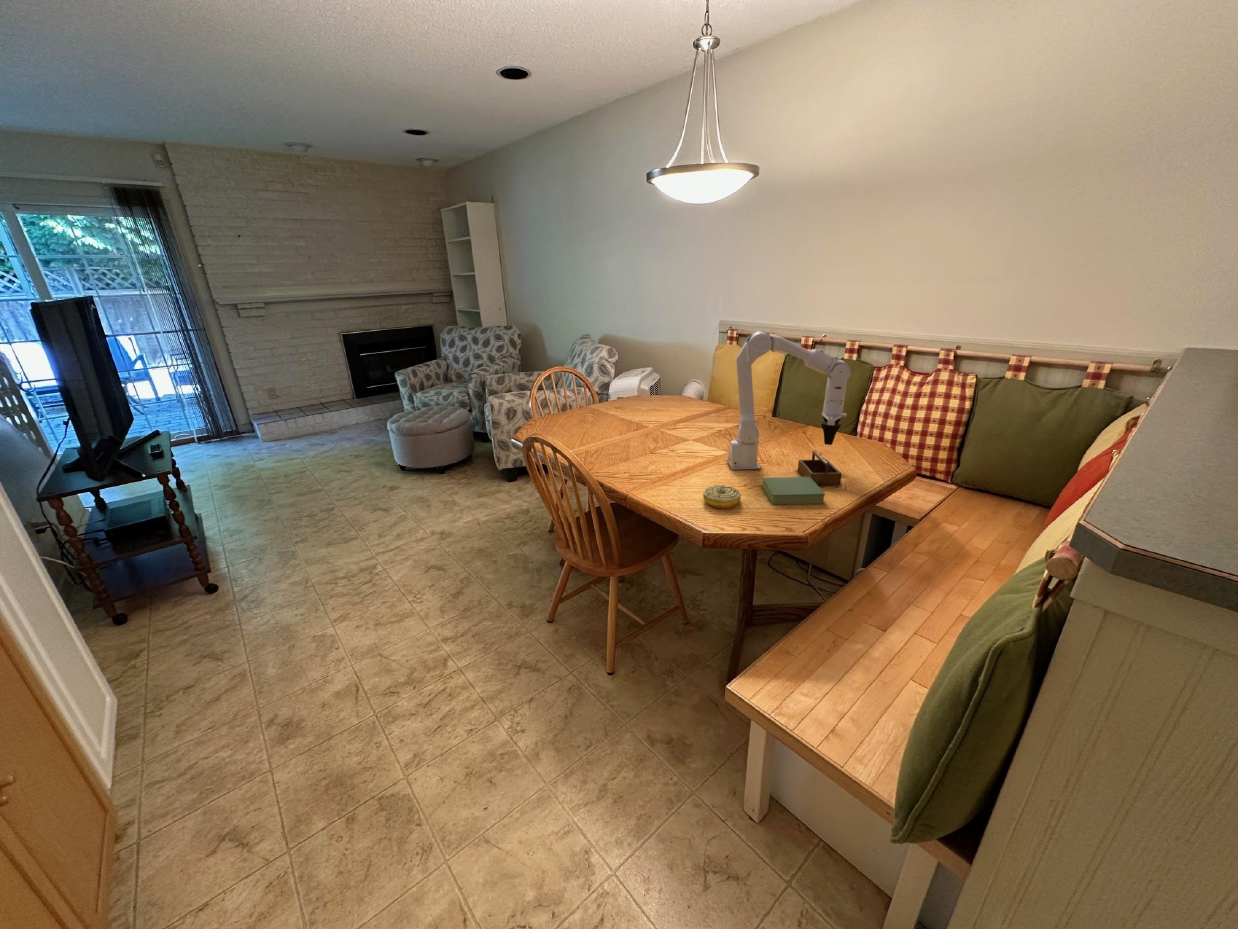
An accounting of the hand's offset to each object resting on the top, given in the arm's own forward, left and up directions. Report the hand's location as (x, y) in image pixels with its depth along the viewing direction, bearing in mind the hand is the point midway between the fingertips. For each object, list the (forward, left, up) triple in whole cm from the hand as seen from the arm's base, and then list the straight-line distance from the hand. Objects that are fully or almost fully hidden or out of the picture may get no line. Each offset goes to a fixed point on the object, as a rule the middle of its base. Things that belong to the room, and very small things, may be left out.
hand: (828, 440), depth 154 cm
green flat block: (-17, -20, -10) cm, 28 cm away
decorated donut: (-38, -24, -10) cm, 46 cm away
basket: (-5, -8, -10) cm, 13 cm away
